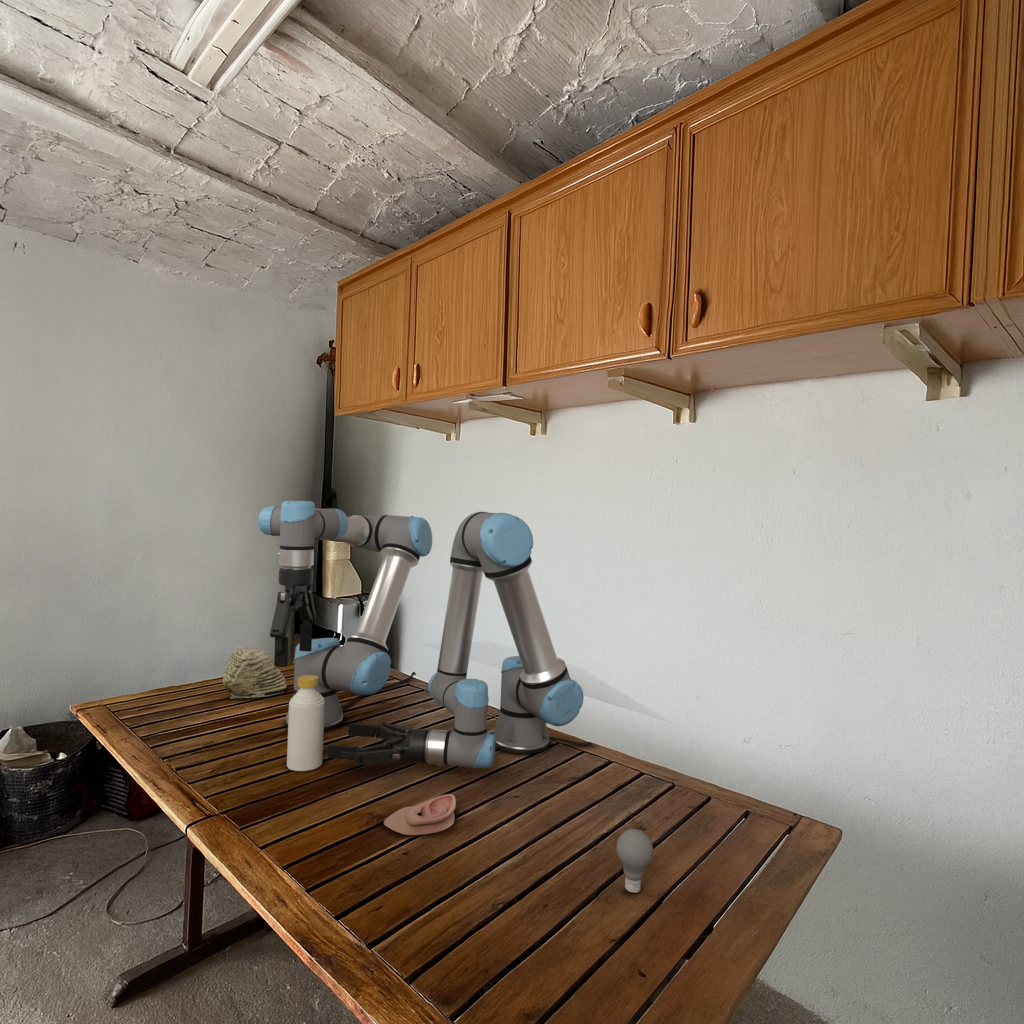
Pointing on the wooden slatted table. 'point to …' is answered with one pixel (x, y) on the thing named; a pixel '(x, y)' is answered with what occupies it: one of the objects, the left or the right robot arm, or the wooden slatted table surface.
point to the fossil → (252, 674)
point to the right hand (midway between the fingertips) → (338, 739)
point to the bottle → (305, 730)
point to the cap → (307, 681)
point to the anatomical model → (424, 816)
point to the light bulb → (634, 857)
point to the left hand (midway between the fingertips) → (293, 658)
